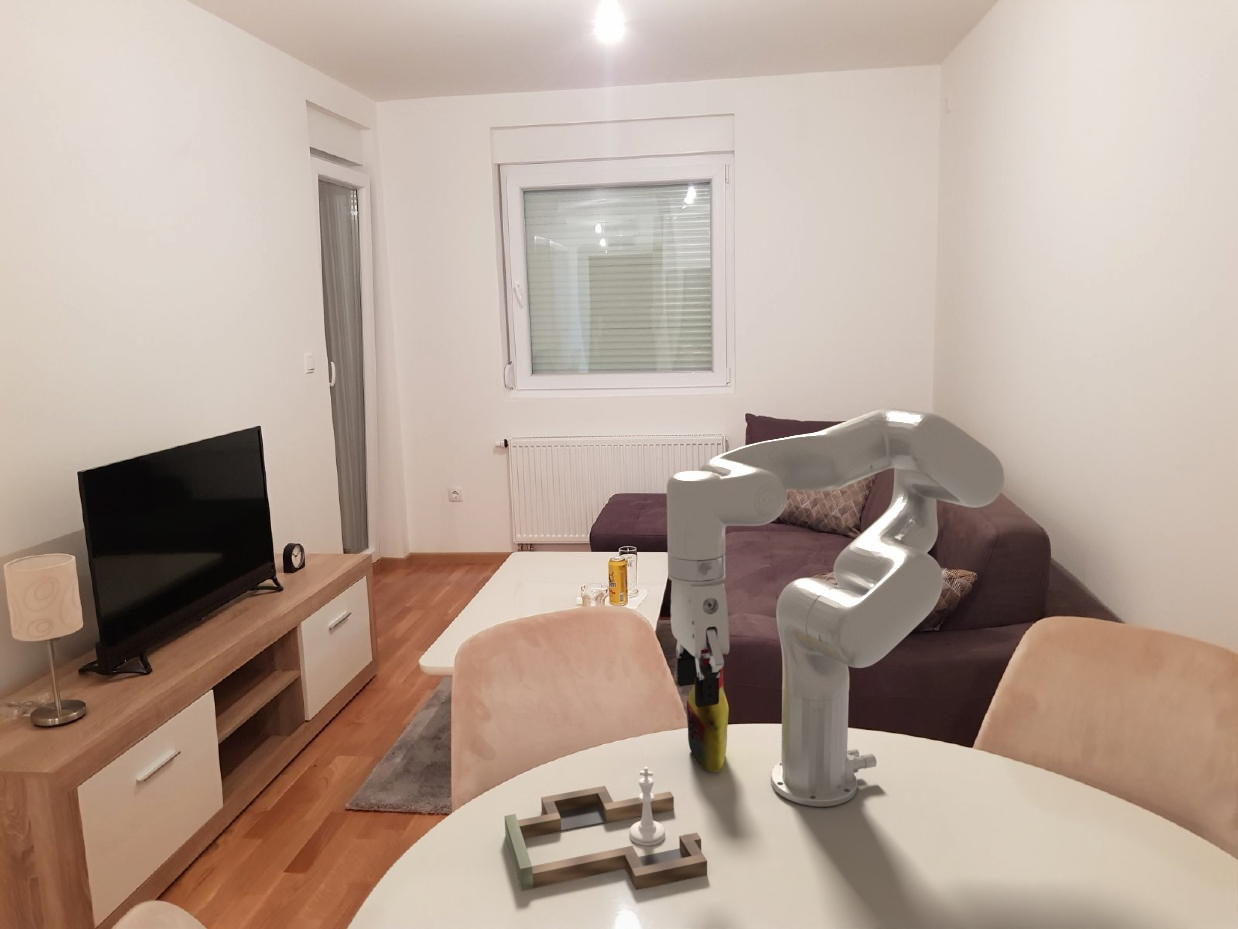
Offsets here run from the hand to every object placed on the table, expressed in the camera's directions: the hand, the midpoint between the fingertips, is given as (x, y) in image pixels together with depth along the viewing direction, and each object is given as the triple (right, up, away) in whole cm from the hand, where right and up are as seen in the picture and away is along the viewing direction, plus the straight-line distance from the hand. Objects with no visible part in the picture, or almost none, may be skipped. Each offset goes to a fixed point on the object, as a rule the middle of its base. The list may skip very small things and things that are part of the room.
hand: (697, 693), depth 119 cm
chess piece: (-7, -20, +2) cm, 21 cm away
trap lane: (-13, -20, 0) cm, 24 cm away
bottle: (+4, -16, +21) cm, 27 cm away
